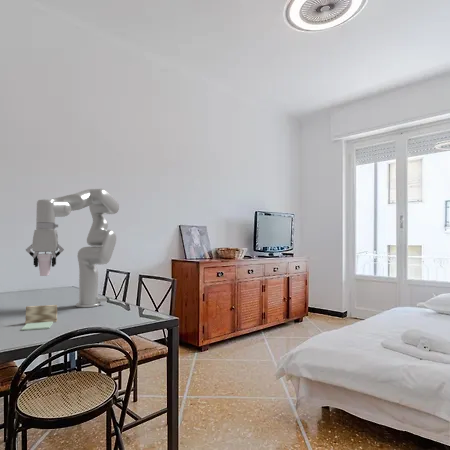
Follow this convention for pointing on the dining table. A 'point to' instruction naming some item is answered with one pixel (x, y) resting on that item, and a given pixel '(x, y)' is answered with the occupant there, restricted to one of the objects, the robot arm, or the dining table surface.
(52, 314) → the screen
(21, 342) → the dining table surface
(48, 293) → the dining table surface
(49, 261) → the smoothie
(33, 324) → the mat
